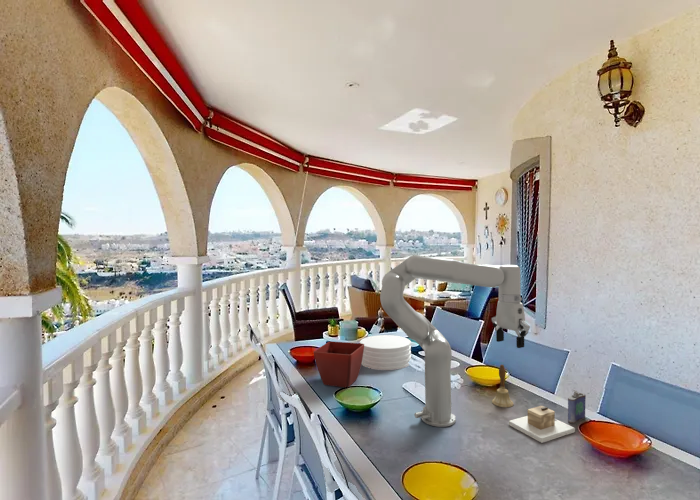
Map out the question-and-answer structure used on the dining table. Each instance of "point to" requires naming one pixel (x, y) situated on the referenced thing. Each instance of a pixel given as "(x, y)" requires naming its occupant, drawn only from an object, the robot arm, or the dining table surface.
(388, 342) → the plate stack
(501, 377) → the hand bell
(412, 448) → the dining table surface
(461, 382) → the dining table surface
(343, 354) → the plant pot
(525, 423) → the shaft board
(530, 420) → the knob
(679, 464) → the dining table surface
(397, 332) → the dining table surface
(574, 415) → the flask
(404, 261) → the robot arm
